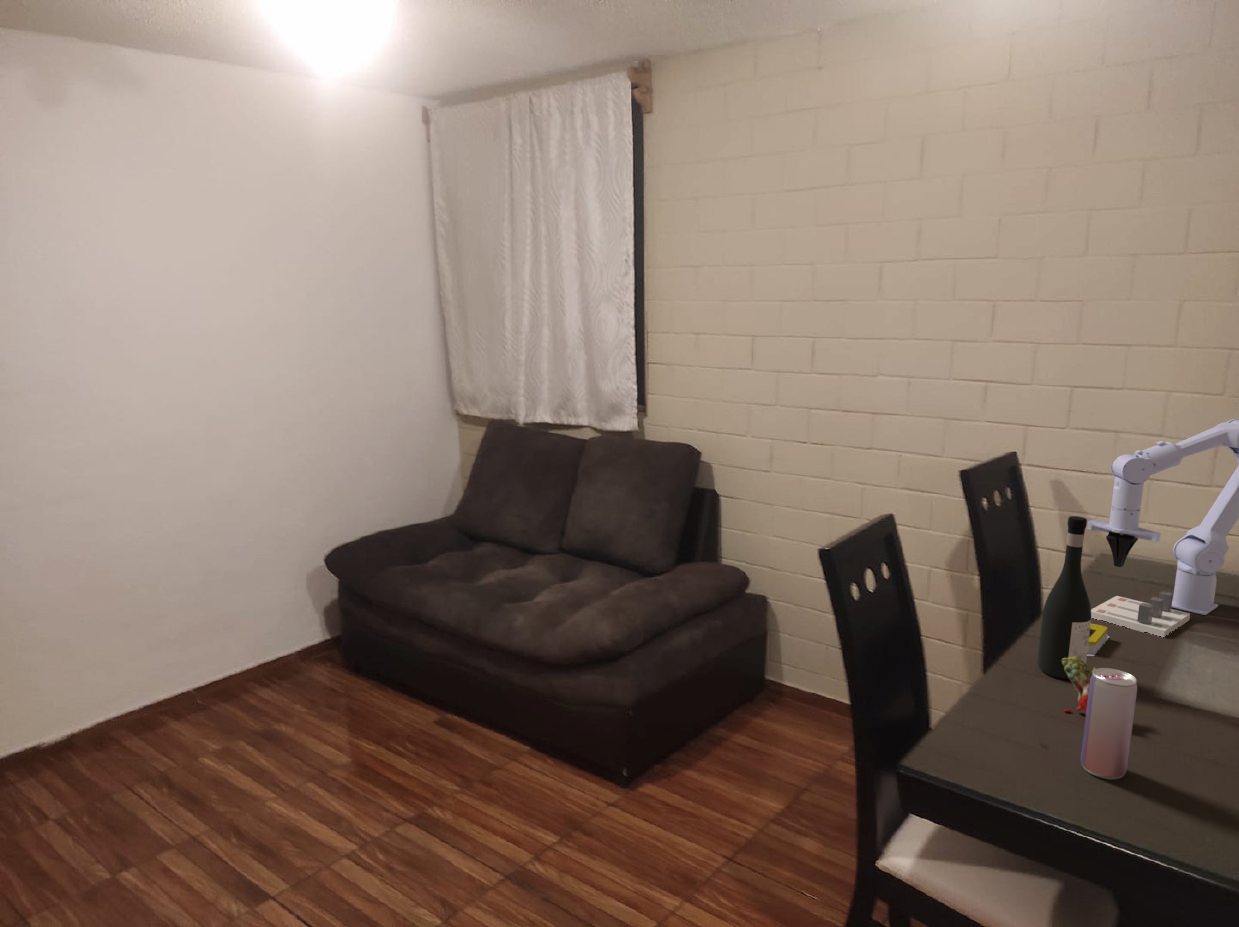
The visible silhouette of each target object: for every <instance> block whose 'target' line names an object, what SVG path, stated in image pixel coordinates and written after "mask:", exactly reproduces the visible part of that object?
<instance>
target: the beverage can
mask: <svg viewBox="0 0 1239 927" xmlns="http://www.w3.org/2000/svg"><path fill="white" fill-rule="evenodd" d="M1092 674H1093V675H1092V676H1091V678H1090V686H1089V694H1088V702H1087V711H1086V712H1085V721H1084V729H1083V737H1082V747H1081V753H1080V764H1081V766H1082V768H1083V769H1084V771H1086V772H1087V773H1089V774H1091V775H1092V776H1095V777H1097V778H1101V779H1105V780H1119V779H1121V778H1123V777H1124V776H1125V775H1126V773H1127V770H1128V762H1129V753H1130V748H1131V747H1130V746H1131V738H1132V732H1133V724H1134V719H1135V718H1134V717H1135V709H1136V700H1137V696H1138V695H1137V693H1138V686H1137V682H1138V680H1137V678H1136V677H1135V676H1134V675H1133V674H1130V673H1128V672H1126V671H1124V670H1120V669H1115V668H1112V667H1111V668H1109V667H1100V668H1097V669H1095V670H1094V671H1093V673H1092Z"/></svg>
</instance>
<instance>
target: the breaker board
mask: <svg viewBox="0 0 1239 927" xmlns="http://www.w3.org/2000/svg"><path fill="white" fill-rule="evenodd" d="M1173 595H1174V592H1169V591H1164V590H1162V591H1160V592H1159V594H1158V598H1161V599H1164V603H1163V611H1162V615H1161V616H1160V617H1154V616H1152V615H1153V608H1154V605H1151V604H1149V603H1148V602H1144V601H1141V600H1136V599H1132V598H1128V597H1124V596H1119V595H1116V596H1113V597H1112V598H1110V599H1108V600H1107V601H1104V602H1103V603H1100V604H1099V605H1097V606H1095V607H1094V608H1091V619H1092V618H1094V619H1093V620H1095V619H1097V620H1096V621H1099V620H1103V621H1107V622H1109V623H1108V624H1110V623H1113V624H1112V625H1114V624H1116V625H1115V626H1118V625H1119V626H1118V627H1122V626H1125V627H1127V628H1126V629H1129V628H1130V630H1133V631H1137V632H1141V633H1144V632H1148V633H1150V634H1149V635H1152V634H1154V635H1153V636H1155V635H1157V636H1156V637H1159V636H1161V637H1160V638H1163V637H1164V638H1165V636H1166V635H1167V636H1168V635H1170V634H1171V633H1173V632H1174V631H1176V630H1177V629H1179V628H1180V627H1182V626H1183V625H1184V624H1186V623H1187V622H1188V621H1190V618H1191V612H1187V611H1186V612H1185V611H1183V610H1178V609H1172V608H1173V607H1172V600H1173ZM1103 621H1102V622H1103ZM1107 622H1106V623H1107ZM1125 627H1124V628H1125ZM1178 627H1179V628H1178ZM1175 629H1176V630H1175ZM1172 631H1173V632H1172ZM1170 632H1171V633H1170ZM1148 633H1147V634H1148ZM1169 633H1170V634H1169ZM1167 636H1166V637H1167Z"/></svg>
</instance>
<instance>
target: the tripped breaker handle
mask: <svg viewBox="0 0 1239 927" xmlns="http://www.w3.org/2000/svg"><path fill="white" fill-rule="evenodd" d="M1163 603H1164V599H1161V598H1159V597H1156V596H1152V597H1151V598H1150V599H1149V604H1151V605H1154V608H1153V615H1152V616H1154V617H1160V616H1161V615H1162V611H1163Z"/></svg>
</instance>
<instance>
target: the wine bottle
mask: <svg viewBox="0 0 1239 927" xmlns="http://www.w3.org/2000/svg"><path fill="white" fill-rule="evenodd" d="M1087 526H1088V519H1087V518H1086V517H1083V516H1079V515H1078V516H1077V515H1072V516H1069V517H1068V519H1067V534H1066V535H1067V537H1066V546H1065V556H1064V557H1065V558H1064V562H1063V566H1062V569H1061V571H1060V574H1059V576H1058V578H1057V579H1056V581H1055V583H1054V585H1053V587H1052V588H1051V590H1050V592H1049V594H1048V596H1047V597H1046V601H1045V603H1044V605H1043V610H1042V617H1041V625H1040V635H1039V645H1038V651H1037V652H1038V654H1037V666H1038V668H1039V669H1040V671H1042V672H1044V673H1045V674H1046V675H1049V676H1051V677H1054V678H1058V679H1064V680H1070V679H1069V678H1068V675H1067V674H1066V672H1065V671H1064V666H1063V664H1062V659H1063V658H1068V657H1075V656H1077V657H1079V658H1080V659H1081V660H1082V661H1084V663H1085V664H1086V665H1087V658H1088V657H1087V650H1088V642H1089V633H1090V625H1091V623H1092V618H1091V609H1092V607H1091V602H1090V599H1089V598H1090V597H1089V596H1088V592H1087V589H1086V585H1085V583H1084V579H1083V575H1082V555H1083V549H1084V548H1083V547H1084V542H1085V540H1084V539H1085V531H1086V528H1087Z"/></svg>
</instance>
